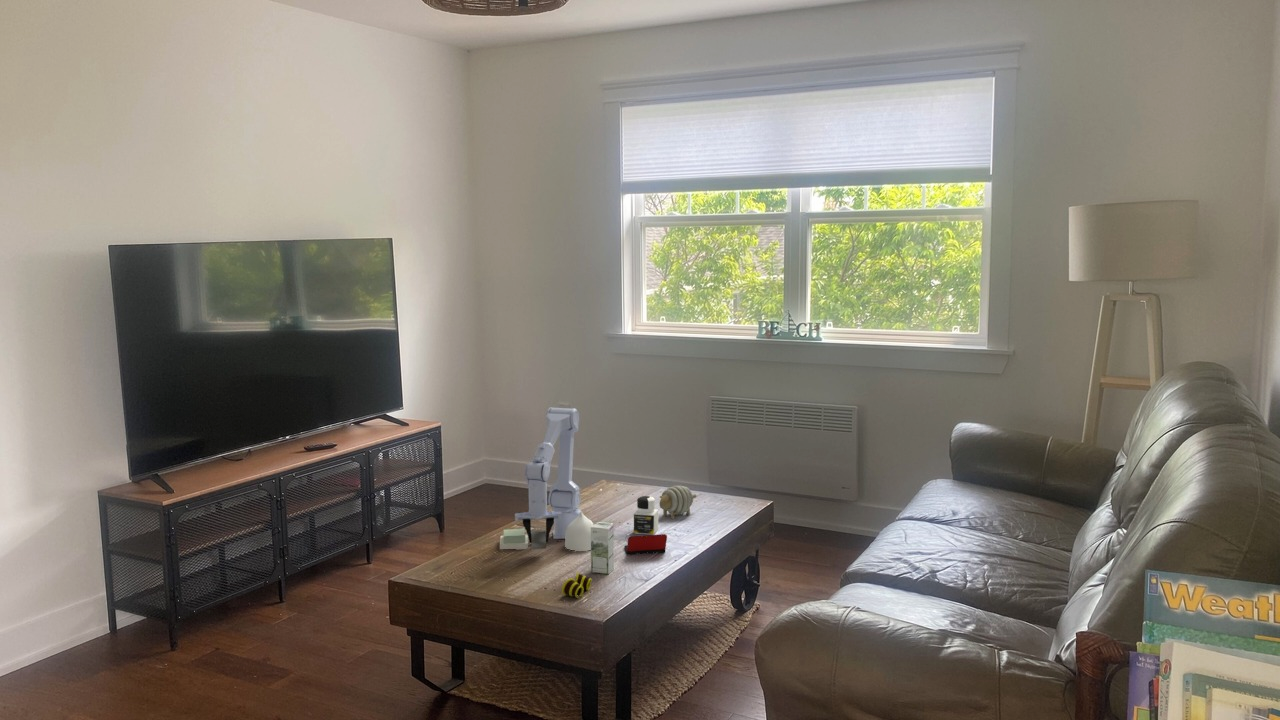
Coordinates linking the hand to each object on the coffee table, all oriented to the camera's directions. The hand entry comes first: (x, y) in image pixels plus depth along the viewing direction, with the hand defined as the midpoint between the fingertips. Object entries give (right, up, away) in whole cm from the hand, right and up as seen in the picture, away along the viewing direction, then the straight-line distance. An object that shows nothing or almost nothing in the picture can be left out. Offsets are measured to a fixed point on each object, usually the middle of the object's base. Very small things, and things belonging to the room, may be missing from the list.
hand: (538, 541), depth 283 cm
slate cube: (0, -2, 0) cm, 2 cm away
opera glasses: (+14, -9, -30) cm, 35 cm away
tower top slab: (-9, -2, +11) cm, 14 cm away
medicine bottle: (+34, -2, +26) cm, 43 cm away
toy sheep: (+46, 0, +44) cm, 64 cm away
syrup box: (+21, -6, -13) cm, 25 cm away
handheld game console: (+34, -5, +4) cm, 34 cm away
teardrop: (+13, -4, +10) cm, 17 cm away
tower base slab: (-9, -4, +12) cm, 15 cm away
